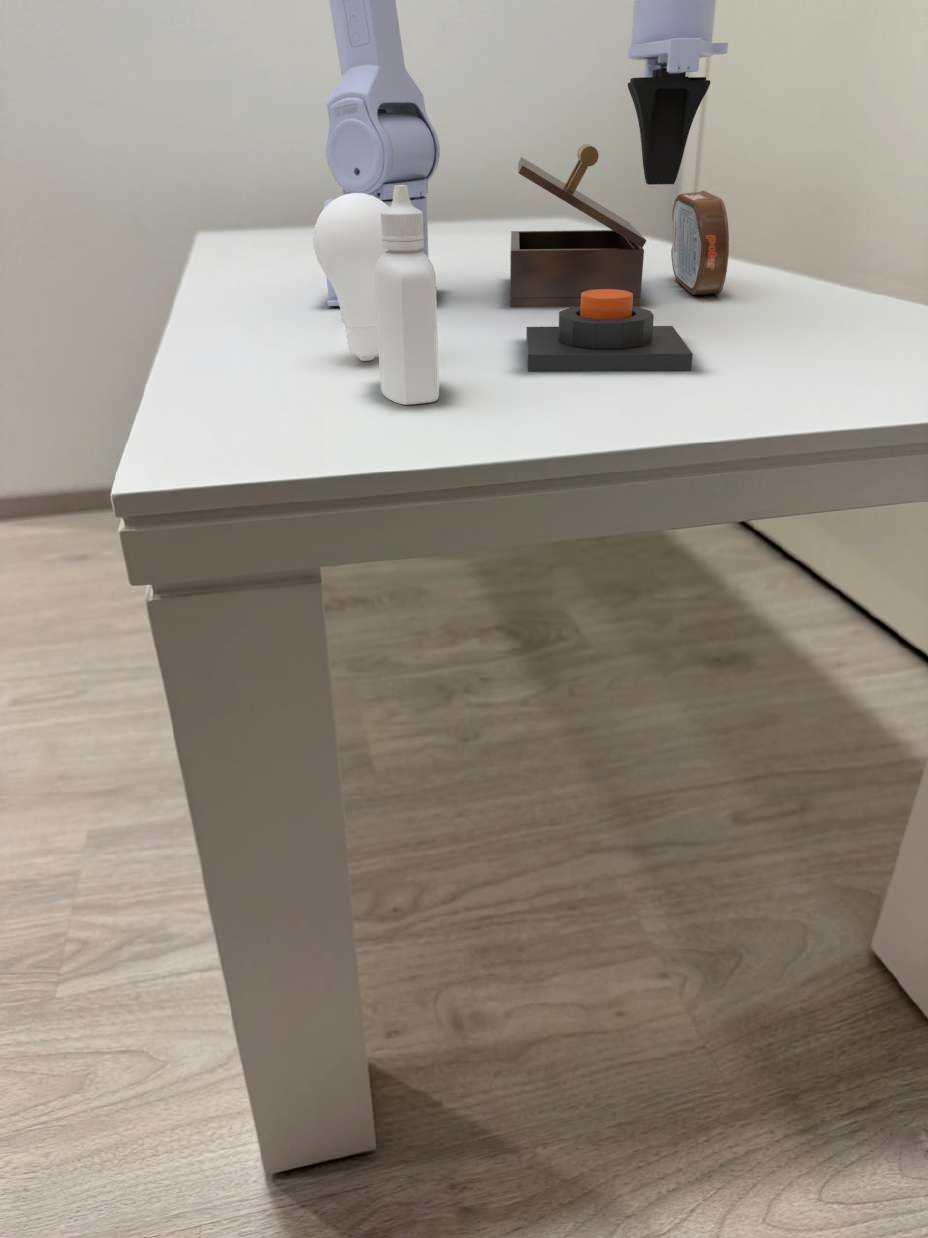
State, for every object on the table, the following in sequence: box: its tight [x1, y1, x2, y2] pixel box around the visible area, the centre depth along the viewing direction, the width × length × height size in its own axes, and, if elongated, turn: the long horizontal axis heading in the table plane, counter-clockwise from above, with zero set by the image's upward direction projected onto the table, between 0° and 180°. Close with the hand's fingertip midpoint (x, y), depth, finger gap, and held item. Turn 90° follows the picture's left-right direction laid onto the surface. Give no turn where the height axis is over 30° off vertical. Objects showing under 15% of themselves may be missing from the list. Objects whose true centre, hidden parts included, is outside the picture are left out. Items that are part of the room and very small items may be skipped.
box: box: [509, 229, 645, 308], centre depth 88 cm, size 12×15×5 cm
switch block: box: [525, 306, 694, 373], centre depth 66 cm, size 11×9×3 cm
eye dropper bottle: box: [374, 185, 440, 406], centre depth 56 cm, size 4×6×12 cm
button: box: [580, 289, 633, 319], centre depth 65 cm, size 4×4×2 cm
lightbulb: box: [312, 193, 389, 362], centre depth 64 cm, size 6×6×11 cm
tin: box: [670, 189, 730, 296], centre depth 88 cm, size 15×3×8 cm, turn 179°
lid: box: [517, 143, 648, 249], centre depth 84 cm, size 12×15×5 cm
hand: (660, 183), depth 72 cm, fingers closed
